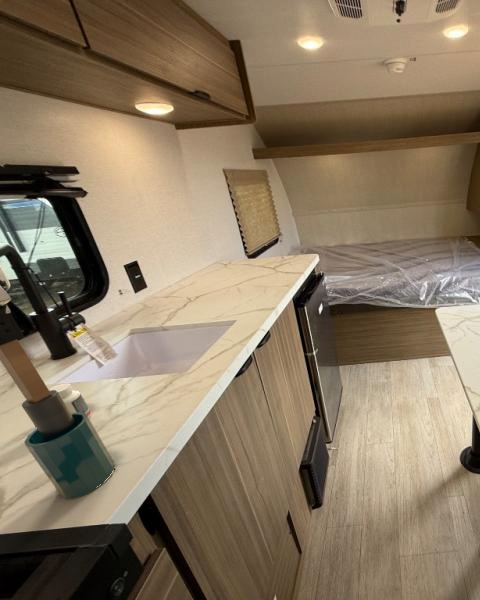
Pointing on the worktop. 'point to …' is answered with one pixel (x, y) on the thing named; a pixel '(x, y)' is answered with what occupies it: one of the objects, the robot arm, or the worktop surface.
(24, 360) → the brush
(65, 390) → the pill bottle
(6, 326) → the robot arm
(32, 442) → the teal handleless cup
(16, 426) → the worktop surface
